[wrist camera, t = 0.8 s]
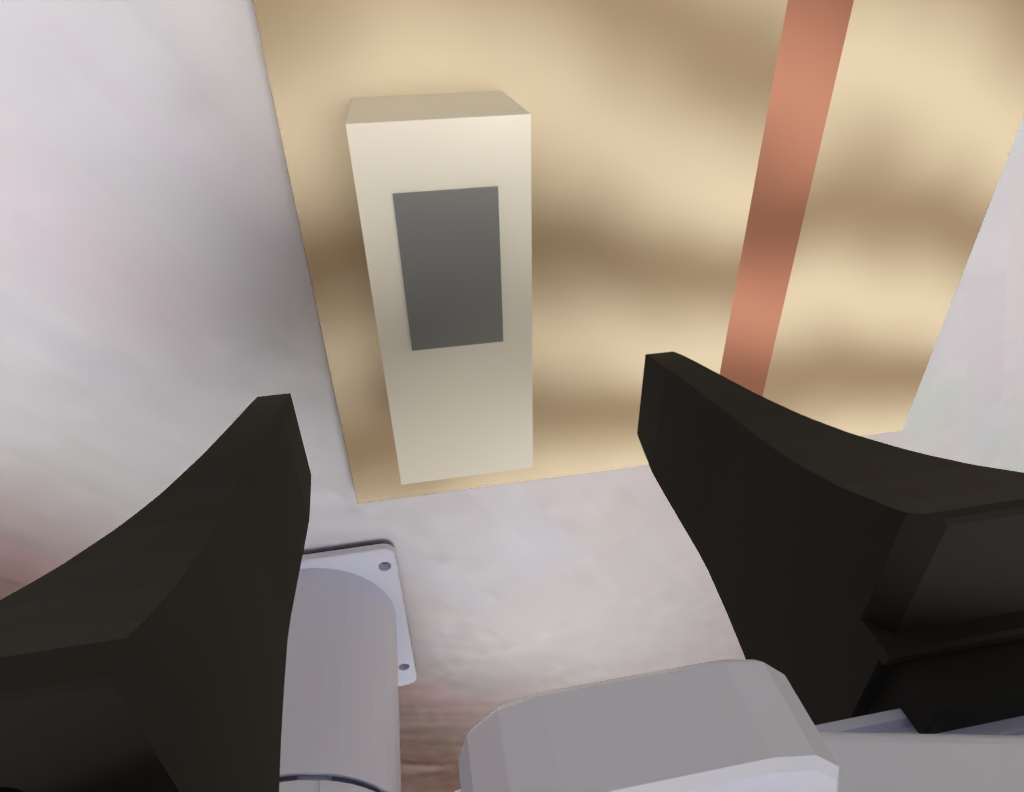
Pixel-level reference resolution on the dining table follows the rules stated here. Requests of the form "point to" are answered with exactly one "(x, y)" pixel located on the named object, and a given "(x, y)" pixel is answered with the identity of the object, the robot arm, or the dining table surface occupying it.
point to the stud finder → (450, 275)
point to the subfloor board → (674, 194)
